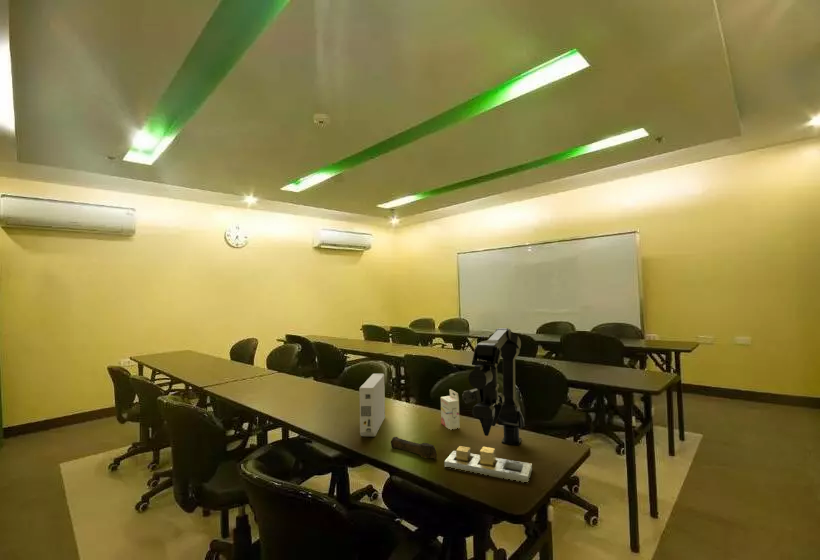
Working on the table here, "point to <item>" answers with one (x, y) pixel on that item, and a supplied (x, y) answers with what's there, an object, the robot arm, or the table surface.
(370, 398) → the game console
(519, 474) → the white slotted tray
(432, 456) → the dark brown elongated piece
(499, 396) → the robot arm
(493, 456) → the block
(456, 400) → the ink cartridge box
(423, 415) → the table surface
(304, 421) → the table surface
